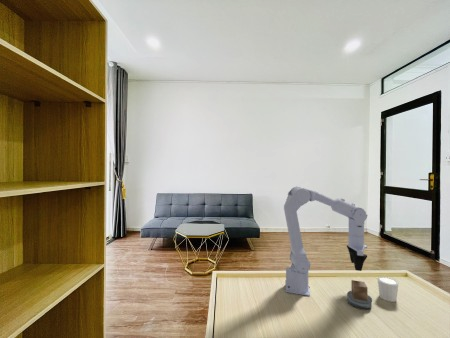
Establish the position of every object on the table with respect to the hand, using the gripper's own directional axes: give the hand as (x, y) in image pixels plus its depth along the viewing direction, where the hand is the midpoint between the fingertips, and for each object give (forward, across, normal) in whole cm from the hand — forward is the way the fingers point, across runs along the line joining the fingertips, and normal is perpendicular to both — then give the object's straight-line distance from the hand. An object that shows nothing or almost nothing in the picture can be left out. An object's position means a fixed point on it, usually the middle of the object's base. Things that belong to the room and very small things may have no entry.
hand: (356, 266), depth 96 cm
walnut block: (+8, -10, +1) cm, 12 cm away
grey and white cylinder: (+11, -2, -11) cm, 15 cm away
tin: (+11, -10, +1) cm, 15 cm away
